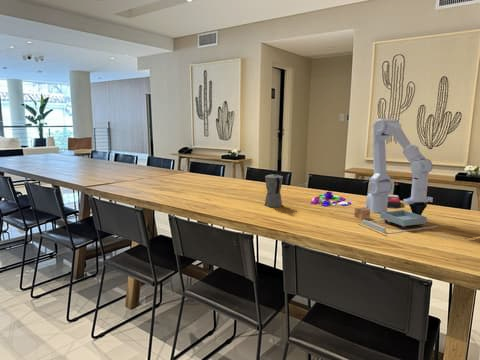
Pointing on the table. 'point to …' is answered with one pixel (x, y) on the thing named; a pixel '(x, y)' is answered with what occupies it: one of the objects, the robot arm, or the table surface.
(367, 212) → the block
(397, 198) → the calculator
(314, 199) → the colorful gemstone pile
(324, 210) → the table surface
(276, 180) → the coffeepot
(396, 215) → the light blue storage bin
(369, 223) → the track
